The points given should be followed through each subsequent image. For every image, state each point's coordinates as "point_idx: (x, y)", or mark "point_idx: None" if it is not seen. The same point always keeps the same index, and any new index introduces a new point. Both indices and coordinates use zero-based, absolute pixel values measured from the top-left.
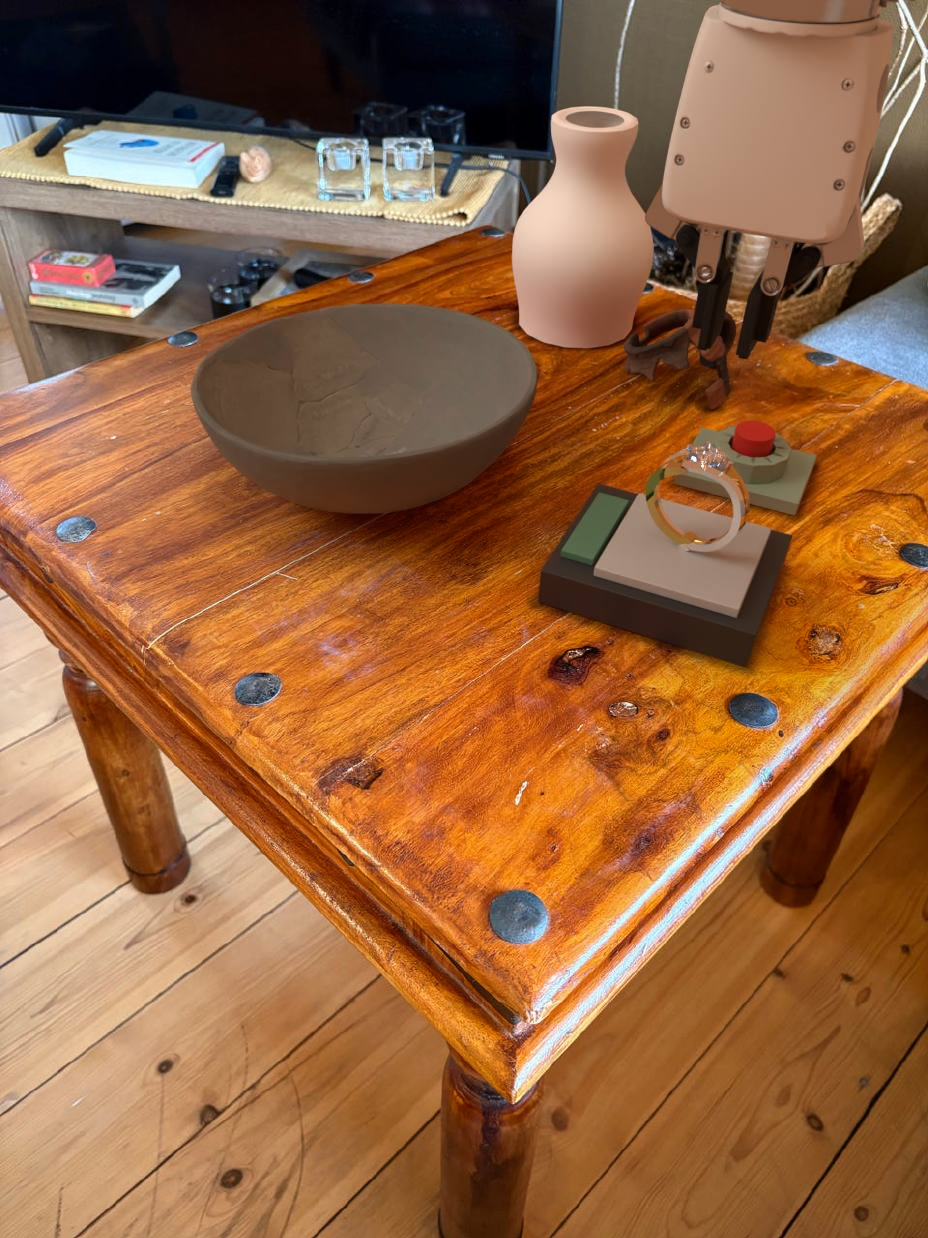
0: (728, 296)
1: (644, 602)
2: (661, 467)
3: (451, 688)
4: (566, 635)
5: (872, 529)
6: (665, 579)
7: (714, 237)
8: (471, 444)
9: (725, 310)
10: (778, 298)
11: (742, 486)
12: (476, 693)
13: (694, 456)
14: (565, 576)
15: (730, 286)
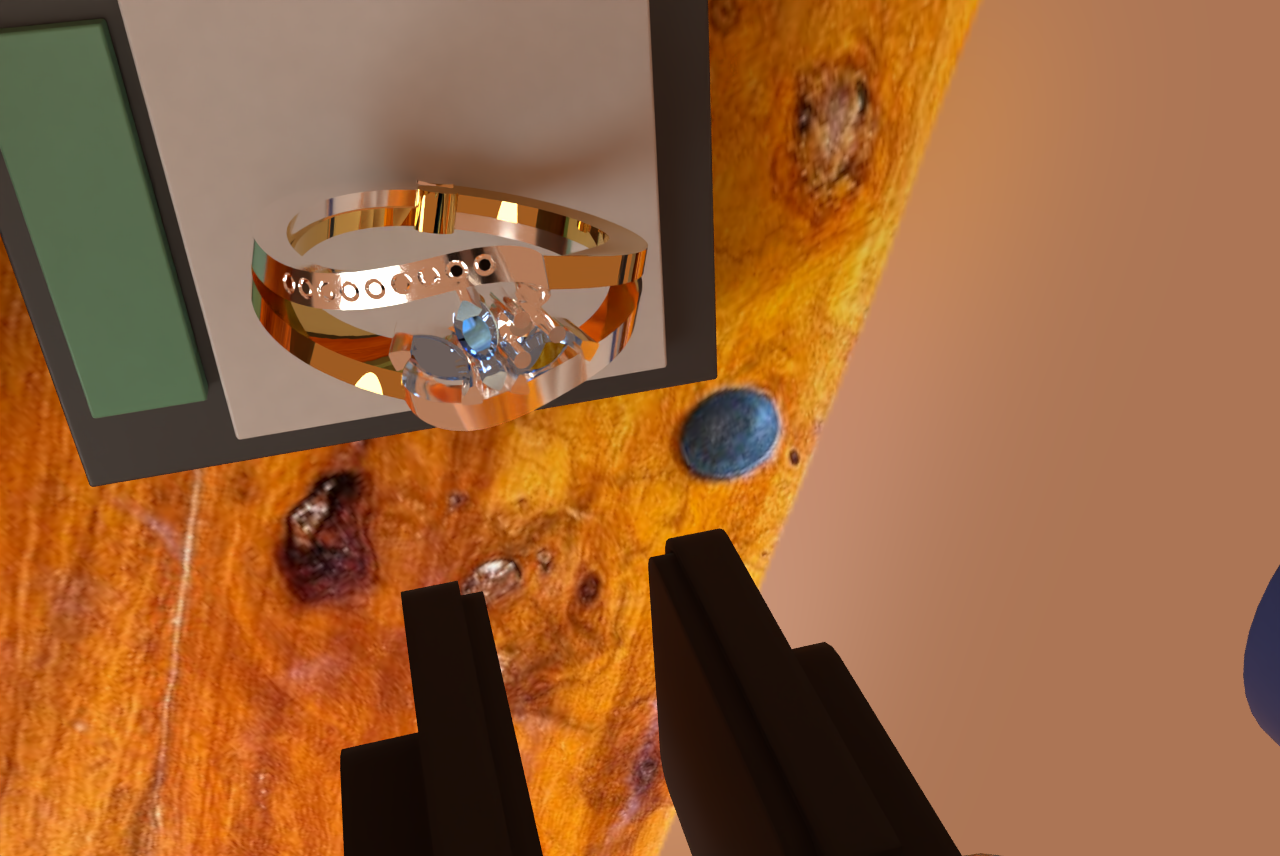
0: (518, 750)
1: (420, 429)
2: (308, 354)
3: (144, 740)
4: (254, 478)
5: None
6: None
7: None
8: None
9: (503, 682)
10: (926, 800)
11: (625, 279)
12: (200, 720)
13: (441, 375)
14: (172, 472)
15: (532, 812)
